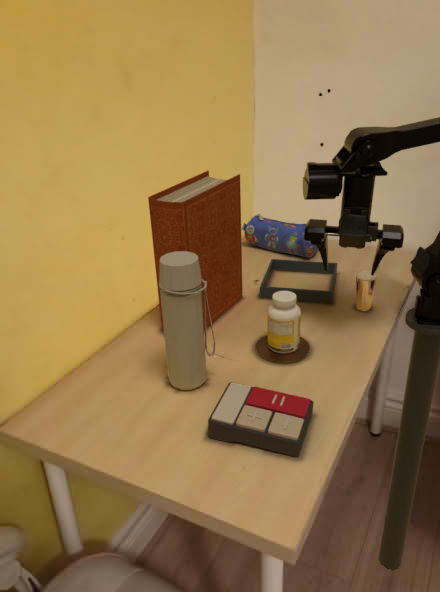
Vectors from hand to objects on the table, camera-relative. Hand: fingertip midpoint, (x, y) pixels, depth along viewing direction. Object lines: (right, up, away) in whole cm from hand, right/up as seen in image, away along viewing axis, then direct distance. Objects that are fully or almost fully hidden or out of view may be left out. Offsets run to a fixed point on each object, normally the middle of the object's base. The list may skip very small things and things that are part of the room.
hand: (348, 272), depth 110 cm
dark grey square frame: (-6, -1, +25) cm, 26 cm away
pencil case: (-9, +10, +46) cm, 48 cm away
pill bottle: (-13, -15, 0) cm, 20 cm away
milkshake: (+7, -7, +14) cm, 17 cm away
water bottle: (-32, -21, -8) cm, 39 cm away
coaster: (-14, -16, 0) cm, 21 cm away
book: (-30, -9, +14) cm, 34 cm away
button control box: (-20, -27, -21) cm, 39 cm away
